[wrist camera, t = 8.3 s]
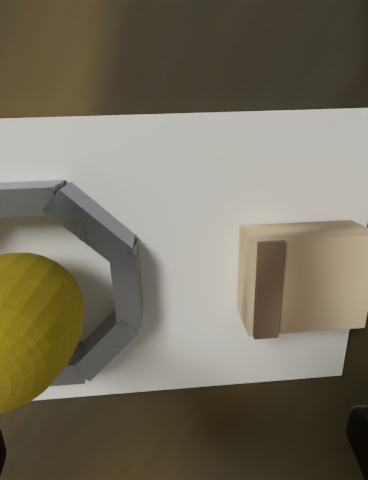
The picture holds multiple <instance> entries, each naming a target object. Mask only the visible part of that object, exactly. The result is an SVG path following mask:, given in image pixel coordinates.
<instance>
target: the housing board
mask: <svg viewBox="0 0 368 480" xmlns="http://www.w3.org/2000/svg"><path fill="white" fill-rule="evenodd" d="M47 180H65V181H66V185H67V184H69V183H70V182H72V183H73V184H74V185H76V186H77V187H78V188H79V189H81V190H82V191H83V192H84V193H85V194H87V195H88V196H89V197H90V198H91V199H93V200H94V201H95V202H96V203H98V204H99V205H100V206H101V207H102V208H104V209H105V210H106V211H107V212H108V213H110V214H111V215H112V216H113V217H115V218H116V219H117V220H118V221H119V222H121V223H122V224H123V225H124V226H125V227H127V228H128V229H129V230H130V231H132V232H133V233H134V234H135V238H134V240H135V239H138V248H139V260H140V272H141V284H142V296H143V317H142V328H140V333H139V334H138V335H137V336H136V337H135V338H134V339H133V340H132V341H131V342H130V343H129V344H128V345H127V346H126V347H125V348H124V349H123V350H122V351H121V352H120V353H119V354H117V355H116V356H115V357H114V358H113V359H112V360H111V361H110V362H109V363H108V364H107V365H106V366H105V367H104V368H103V369H102V370H101V371H100V372H99V373H98V374H97V375H96V376H95V377H94V378H93V379H92V380H91V381H88V380H87V379H86V382H85V384H74V385H61V386H49V387H48V388H47V389H46V390H45V391H44V392H43V393H42V394H40V395H39V396H38V397H36V398H35V399H33V400H45V399H57V398H70V397H82V396H94V395H107V394H119V393H131V392H143V391H156V390H168V389H180V388H193V387H205V386H217V385H230V384H242V383H254V382H267V381H279V380H291V379H303V378H316V377H328V376H340V375H342V371H343V365H344V359H345V353H346V347H347V341H348V335H349V329H340V330H326V331H312V332H299V333H285V334H279V336H278V338H269V339H255V340H254V338H253V336H248V333H247V331H246V329H245V326H244V324H243V322H242V319H241V317H240V315H239V312H238V310H237V297H238V264H239V231H240V225H259V224H279V223H299V222H318V221H338V220H353V221H355V222H357V223H359V224H361V225H363V226H365V227H367V223H368V108H350V109H316V110H281V111H247V112H212V113H178V114H143V115H109V116H74V117H40V118H5V119H0V182H22V181H47ZM7 253H33V254H38V255H42V256H45V257H47V258H49V259H51V260H54V261H56V262H57V263H59V264H60V265H61V266H63V267H64V268H65V269H67V270H68V272H69V273H70V274H71V275H72V276H73V278H74V279H75V280H76V282H77V284H78V286H79V288H80V291H81V293H82V297H83V303H84V310H85V313H84V322H83V329H82V334H81V337H80V340H79V342H80V341H84V340H85V339H86V338H87V337H88V336H89V335H90V334H91V333H92V332H93V331H94V330H95V329H96V328H97V327H98V326H99V325H100V324H101V323H102V322H103V321H104V320H105V319H106V318H107V317H108V316H109V315H110V314H111V313H112V312H113V311H114V310H115V304H114V296H113V287H112V278H111V270H110V262H109V261H107V260H106V259H105V258H104V257H102V256H101V255H100V254H98V253H97V252H96V251H94V250H93V249H92V248H91V247H89V246H88V245H87V244H85V243H84V242H83V241H82V240H80V239H79V238H78V237H76V236H75V235H74V234H72V233H71V232H70V231H69V230H67V229H66V228H65V227H63V226H62V225H61V224H59V223H58V222H57V221H56V220H54V219H53V218H52V217H50V216H49V215H46V216H25V217H3V218H0V255H3V254H7ZM33 400H32V401H33Z"/></svg>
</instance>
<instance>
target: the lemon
mask: <svg viewBox="0 0 368 480" xmlns="http://www.w3.org/2000/svg"><path fill="white" fill-rule="evenodd" d="M84 313H85V310H84V303H83V297H82V293H81V291H80V288H79V286H78V284H77V282H76V280H75V279H74V278H73V276H72V275H71V274H70V273H69V272H68V270H67V269H65V268H64V267H63V266H61V265H60V264H59V263H57V262H56V261H54V260H51V259H49V258H47V257H45V256H42V255H38V254H33V253H7V254H3V255H0V414H2V413H5V412H8V411H11V410H14V409H17V408H19V407H22V406H23V405H25V404H27V403H29V402H30V401H32V400H33V399H35V398H36V397H38V396H39V395H40V394H42V393H43V392H44V391H45V390H46V389H47V388H48V387H49V386H50V385H51V384H52V383H53V382H54V380H55V379H56V378H57V377H58V376H59V375H60V374H61V372H62V371H63V370H64V369H65V367H66V366H67V364H68V363H69V361H70V359H71V357H72V355H73V353H74V351H75V349H76V347H77V345H78V342H79V340H80V337H81V334H82V329H83V322H84Z"/></svg>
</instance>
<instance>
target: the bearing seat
mask: <svg viewBox="0 0 368 480" xmlns="http://www.w3.org/2000/svg"><path fill="white" fill-rule="evenodd" d="M46 215H49V216H50V217H52V218H53V219H54V220H56V221H57V222H58V223H59V224H61V225H62V226H63V227H65V228H66V229H67V230H69V231H70V232H71V233H72V234H74V235H75V236H76V237H78V238H79V239H80V240H82V241H83V242H84V243H85V244H87V245H88V246H89V247H91V248H92V249H93V250H94V251H96V252H97V253H98V254H100V255H101V256H102V257H104V258H105V259H106V260H107V261H109V262H110V270H111V278H112V287H113V296H114V304H115V310H114V311H113V312H112V313H111V314H110V315H109V316H108V317H107V318H106V319H105V320H104V321H103V322H102V323H101V324H100V325H99V326H98V327H97V328H96V329H95V330H94V331H93V332H92V333H91V334H90V335H89V336H88V337H87V338H86V339H85V340H84V341H80V342H78V345H77V347H76V349H75V351H74V353H73V355H72V357H71V359H70V361H69V363H68V364H67V366H66V367H65V369H64V370H63V371H62V372H61V374H60V375H59V376H58V377H57V378H56V379H55V380H54V382H53V383H52V384H51V385H50V386H61V385H74V384H85V382H86V379H87V380H88V381H91V380H92V379H93V378H94V377H95V376H96V375H97V374H98V373H99V372H100V371H101V370H102V369H103V368H104V367H105V366H106V365H107V364H108V363H109V362H110V361H111V360H112V359H113V358H114V357H115V356H116V355H117V354H119V353H120V352H121V351H122V350H123V349H124V348H125V347H126V346H127V345H128V344H129V343H130V342H131V341H132V340H133V339H134V338H135V337H136V336H137V335H138V334H139V333H140V328H142V317H143V296H142V284H141V272H140V260H139V248H138V239H135V240H134V238H135V234H134V233H133V232H132V231H130V230H129V229H128V228H127V227H125V226H124V225H123V224H122V223H121V222H119V221H118V220H117V219H116V218H115V217H113V216H112V215H111V214H110V213H108V212H107V211H106V210H105V209H104V208H102V207H101V206H100V205H99V204H98V203H96V202H95V201H94V200H93V199H91V198H90V197H89V196H88V195H87V194H85V193H84V192H83V191H82V190H81V189H79V188H78V187H77V186H76V185H74V184H73V183H72V182H70V183H69V184H67V185H66V181H65V180H47V181H22V182H0V218H3V217H25V216H46Z"/></svg>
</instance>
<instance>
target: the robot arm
mask: <svg viewBox="0 0 368 480" xmlns="http://www.w3.org/2000/svg"><path fill="white" fill-rule="evenodd" d="M346 432H347V437H348V440H349V442H350V445H351V447H352V450H353V452H354V454H355V457H356V459H357V462H358V464H359V467H360V469H361V472H362V474H363V477H364V479H365V480H368V405H357V406H353V407H352V408H351V411H350V415H349V419H348V423H347V428H346ZM5 458H6V447H5V443H4V439H3V436H2V432H1V429H0V475H1V472H2V469H3V466H4V462H5Z"/></svg>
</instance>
